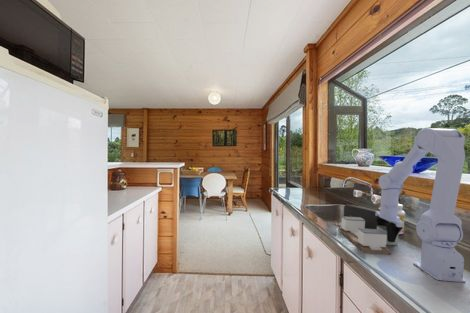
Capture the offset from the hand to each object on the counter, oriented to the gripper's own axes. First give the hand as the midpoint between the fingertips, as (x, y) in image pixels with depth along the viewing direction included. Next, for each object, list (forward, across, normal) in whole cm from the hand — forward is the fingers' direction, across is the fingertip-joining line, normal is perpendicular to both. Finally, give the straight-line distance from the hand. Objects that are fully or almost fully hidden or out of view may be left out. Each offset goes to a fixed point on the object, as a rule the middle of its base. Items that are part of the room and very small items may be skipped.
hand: (386, 238), depth 90 cm
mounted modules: (0, 0, +10) cm, 10 cm away
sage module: (+2, 0, 0) cm, 2 cm away
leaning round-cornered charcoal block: (+2, +17, +2) cm, 17 cm away
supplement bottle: (+2, +13, -11) cm, 18 cm away
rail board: (+1, 0, +10) cm, 10 cm away
